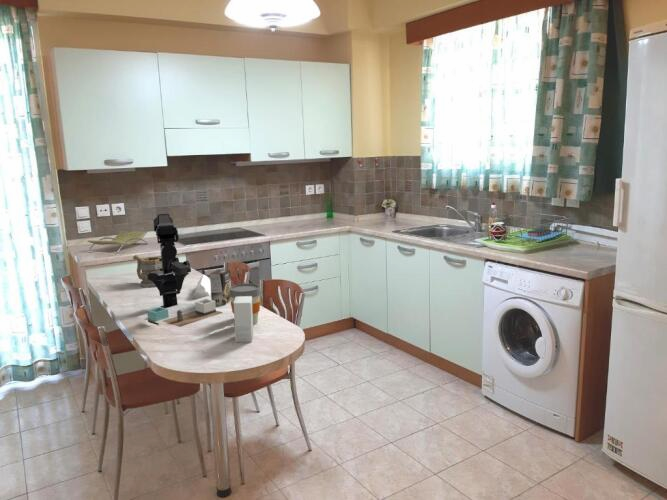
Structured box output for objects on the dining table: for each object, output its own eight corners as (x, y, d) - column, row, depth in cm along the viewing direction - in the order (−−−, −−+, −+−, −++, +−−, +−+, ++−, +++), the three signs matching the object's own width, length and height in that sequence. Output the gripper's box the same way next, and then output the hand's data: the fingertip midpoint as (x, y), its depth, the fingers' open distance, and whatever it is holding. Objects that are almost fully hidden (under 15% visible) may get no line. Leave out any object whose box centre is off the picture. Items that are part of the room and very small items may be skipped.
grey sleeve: (195, 313, 226) (194, 302, 225) (206, 309, 231) (206, 298, 230) (204, 315, 222) (203, 304, 221) (215, 312, 227) (215, 300, 226)
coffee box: (224, 309, 236) (222, 273, 233) (211, 308, 238) (209, 273, 234) (232, 303, 245) (230, 269, 242) (219, 302, 246) (217, 268, 243)
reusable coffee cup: (248, 329, 209) (246, 293, 206) (224, 324, 215) (222, 289, 212) (268, 320, 219) (266, 285, 216) (245, 316, 226) (243, 282, 223)
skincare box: (237, 335, 203) (234, 296, 200) (254, 334, 204) (252, 295, 201) (235, 343, 195) (232, 302, 192) (253, 342, 196) (251, 301, 192)
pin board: (162, 324, 217) (161, 310, 216) (205, 310, 234) (204, 297, 233) (180, 330, 210) (179, 315, 209) (223, 315, 227) (222, 302, 226)
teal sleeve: (148, 321, 221) (147, 310, 220) (160, 318, 225) (159, 306, 224) (156, 324, 217) (155, 312, 216) (169, 320, 222) (168, 309, 221)
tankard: (171, 283, 283) (168, 255, 280) (151, 288, 273) (149, 260, 270) (146, 278, 294) (144, 252, 291) (126, 284, 283) (124, 256, 280)
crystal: (193, 280, 273) (188, 292, 250) (205, 272, 273) (201, 284, 250) (201, 291, 275) (197, 305, 252) (213, 284, 275) (210, 297, 252)
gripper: (165, 260, 203) (168, 300, 206) (199, 252, 219) (202, 289, 222) (144, 259, 208) (148, 297, 211) (179, 251, 224) (182, 287, 227)
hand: (171, 292), depth 217 cm, fingers open, 9 cm apart
